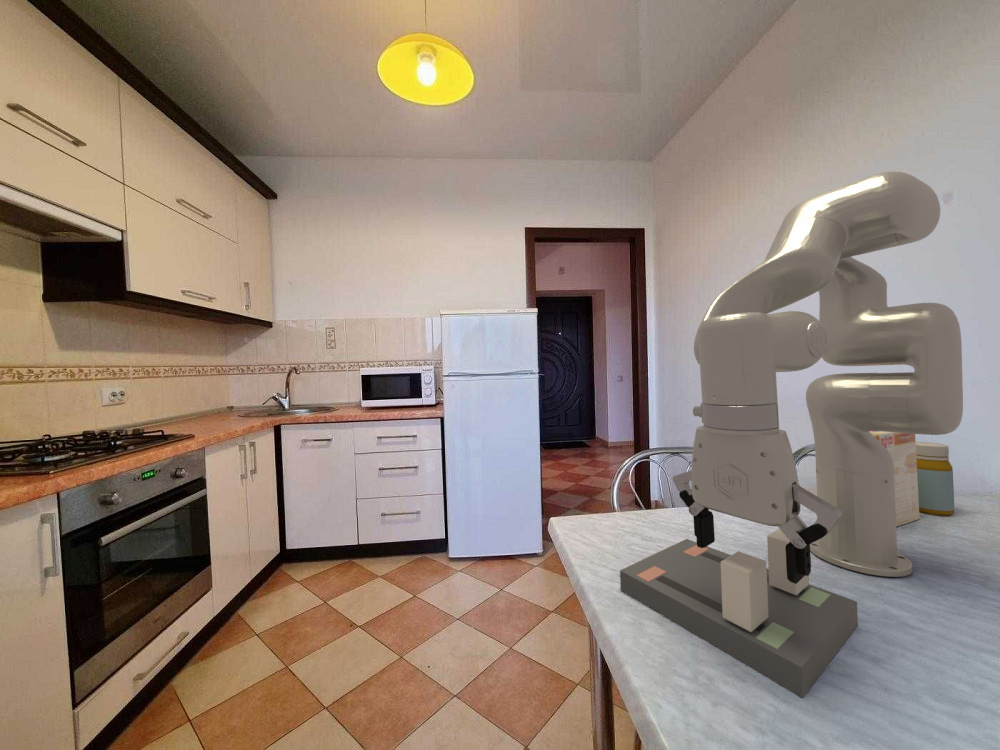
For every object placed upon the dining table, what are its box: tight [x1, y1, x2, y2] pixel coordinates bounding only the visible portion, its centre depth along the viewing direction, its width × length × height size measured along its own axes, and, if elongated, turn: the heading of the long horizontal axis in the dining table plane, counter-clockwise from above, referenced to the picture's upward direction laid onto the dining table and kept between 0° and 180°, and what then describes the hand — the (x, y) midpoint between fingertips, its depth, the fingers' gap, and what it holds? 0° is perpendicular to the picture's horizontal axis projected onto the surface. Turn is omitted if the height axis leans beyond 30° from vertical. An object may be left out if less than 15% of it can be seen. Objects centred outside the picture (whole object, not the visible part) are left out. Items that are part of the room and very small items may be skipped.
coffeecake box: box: [869, 431, 921, 527], centre depth 76 cm, size 15×7×20 cm, turn 110°
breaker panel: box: [619, 538, 859, 698], centre depth 49 cm, size 18×22×3 cm
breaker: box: [766, 528, 810, 595], centre depth 48 cm, size 4×3×7 cm
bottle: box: [916, 441, 956, 517], centre depth 80 cm, size 7×7×15 cm
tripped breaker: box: [721, 551, 768, 632], centre depth 42 cm, size 4×3×7 cm
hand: (747, 559), depth 43 cm, fingers open, 9 cm apart
